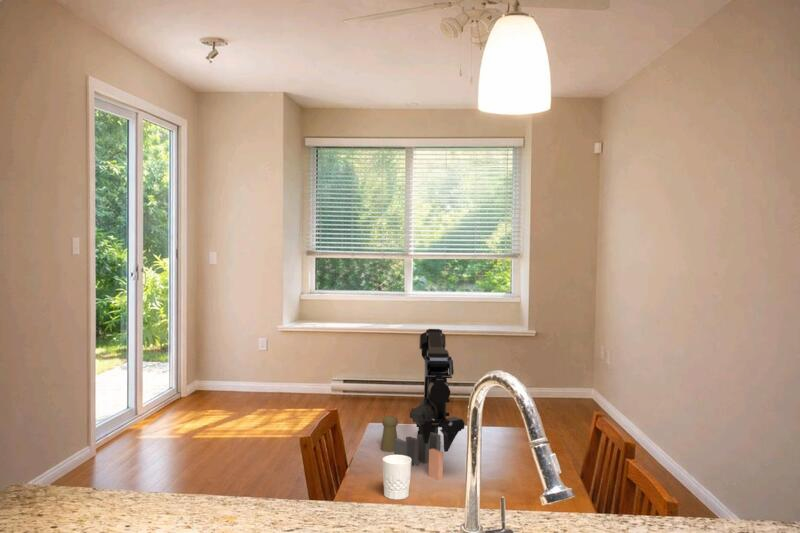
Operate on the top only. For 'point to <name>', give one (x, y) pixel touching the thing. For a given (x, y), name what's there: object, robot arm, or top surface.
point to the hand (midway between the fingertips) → (435, 447)
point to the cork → (389, 433)
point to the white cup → (396, 476)
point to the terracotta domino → (435, 464)
